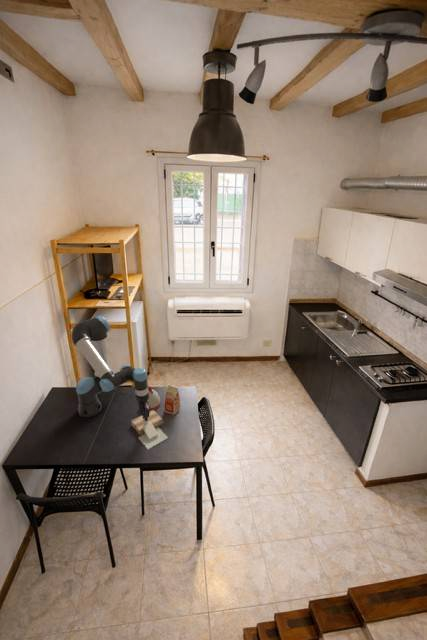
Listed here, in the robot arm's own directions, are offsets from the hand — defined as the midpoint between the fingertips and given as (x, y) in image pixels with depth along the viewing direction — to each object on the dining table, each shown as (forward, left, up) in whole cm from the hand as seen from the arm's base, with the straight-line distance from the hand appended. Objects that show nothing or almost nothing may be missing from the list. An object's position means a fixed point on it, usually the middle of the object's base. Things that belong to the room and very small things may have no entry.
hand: (145, 423), depth 194 cm
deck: (-4, +3, -5) cm, 7 cm away
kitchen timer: (-21, +15, -6) cm, 27 cm away
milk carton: (-6, +24, -6) cm, 25 cm away
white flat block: (+4, 0, -3) cm, 5 cm away
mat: (+8, 0, -5) cm, 10 cm away
